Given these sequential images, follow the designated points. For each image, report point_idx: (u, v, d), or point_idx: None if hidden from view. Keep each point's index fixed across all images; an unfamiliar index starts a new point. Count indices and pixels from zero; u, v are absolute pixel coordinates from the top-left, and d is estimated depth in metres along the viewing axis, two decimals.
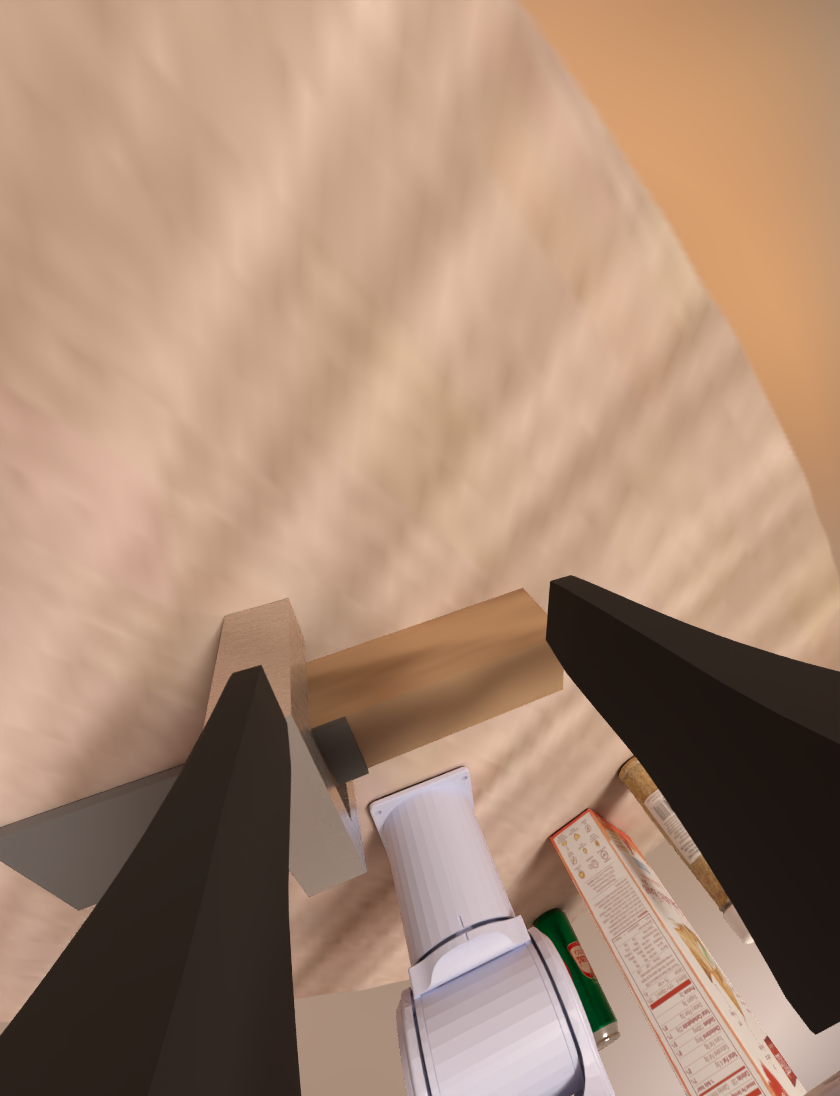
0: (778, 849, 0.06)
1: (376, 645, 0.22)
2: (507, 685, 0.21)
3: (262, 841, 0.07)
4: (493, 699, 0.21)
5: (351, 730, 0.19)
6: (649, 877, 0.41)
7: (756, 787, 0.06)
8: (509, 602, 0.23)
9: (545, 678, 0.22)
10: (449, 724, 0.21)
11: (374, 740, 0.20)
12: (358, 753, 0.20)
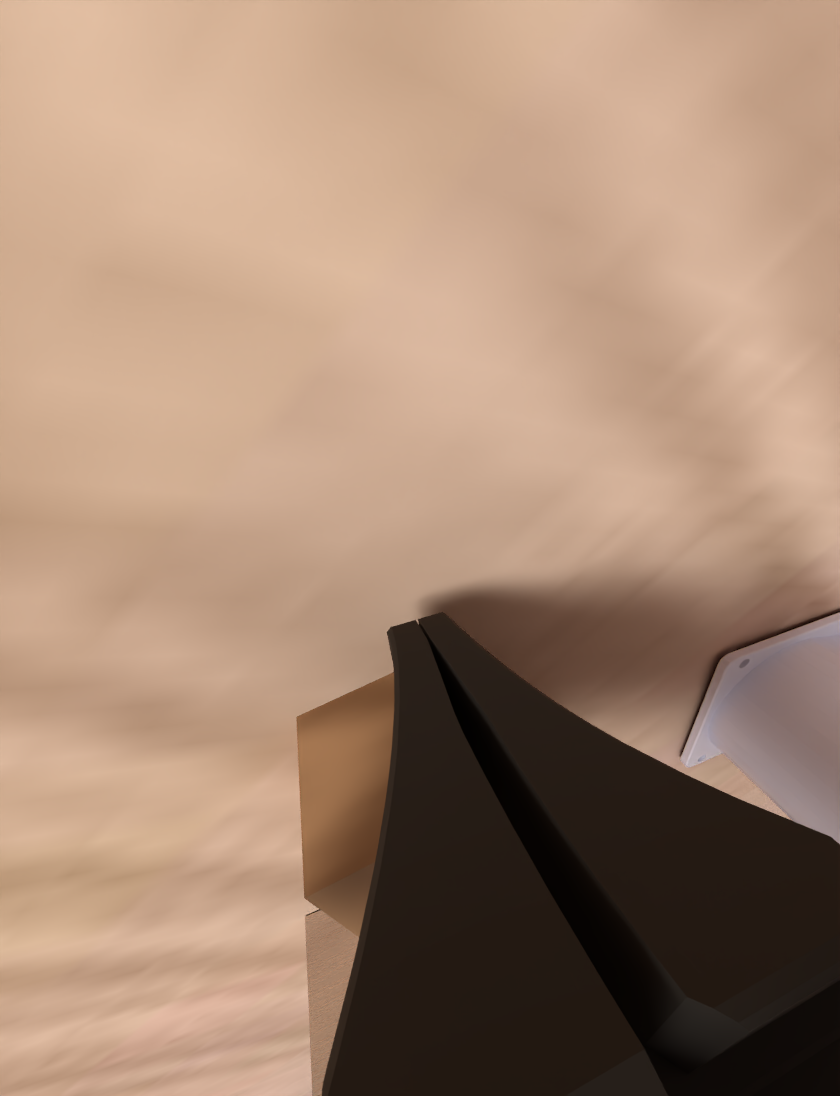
0: None
1: None
2: None
3: None
4: None
5: None
6: None
7: (550, 883, 0.05)
8: None
9: None
10: None
11: None
12: None
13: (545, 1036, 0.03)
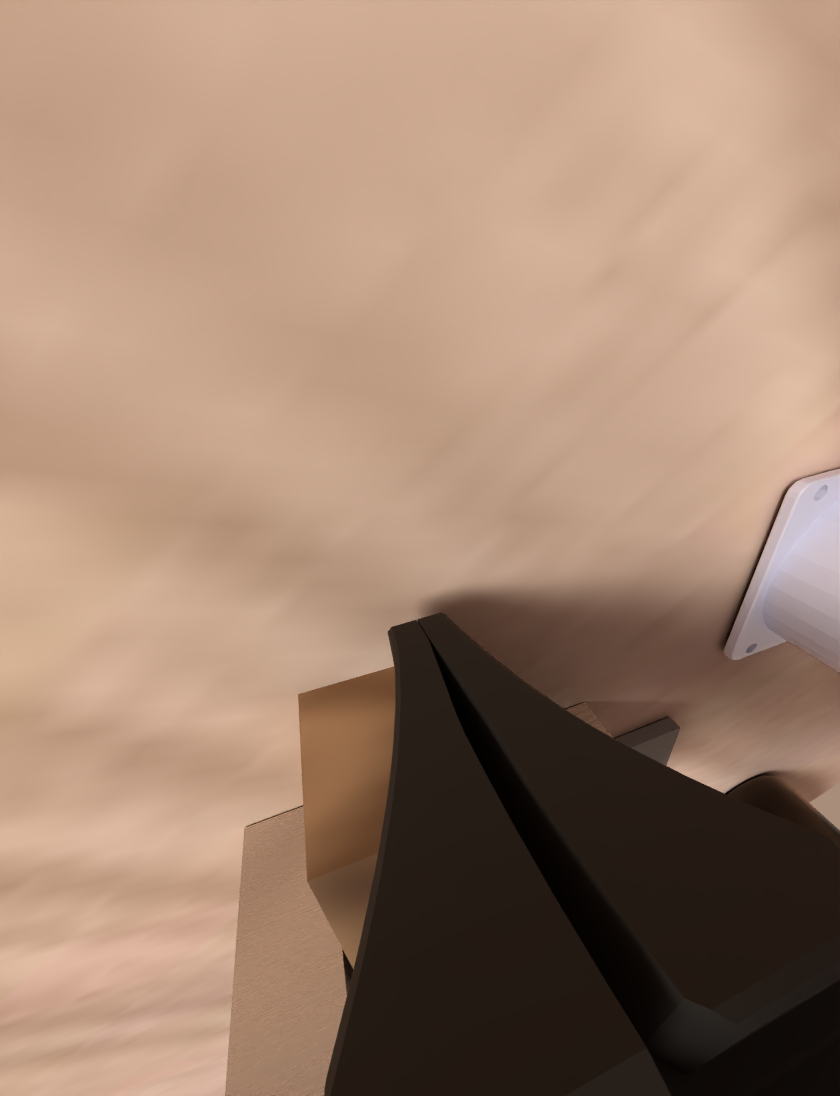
0: None
1: None
2: None
3: None
4: None
5: None
6: None
7: (548, 883, 0.05)
8: None
9: None
10: None
11: None
12: None
13: (547, 1035, 0.03)
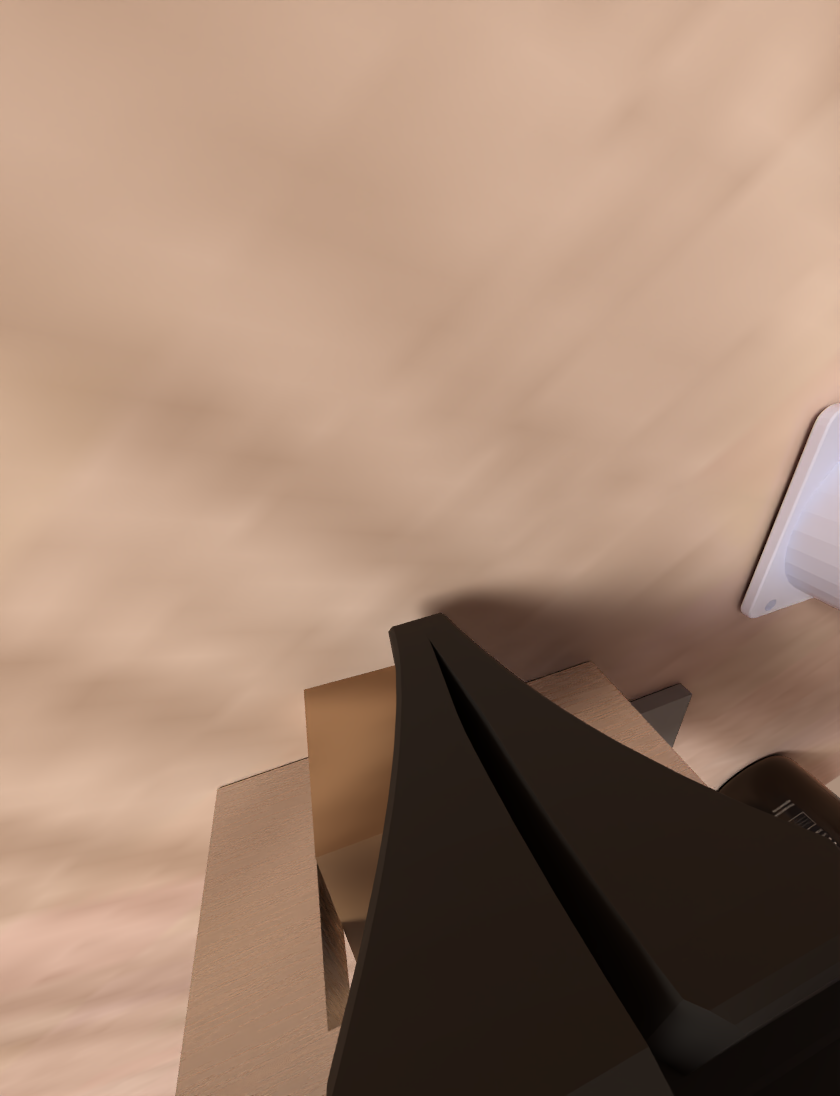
0: None
1: None
2: None
3: None
4: None
5: None
6: None
7: None
8: None
9: None
10: None
11: None
12: None
13: (549, 1034, 0.03)
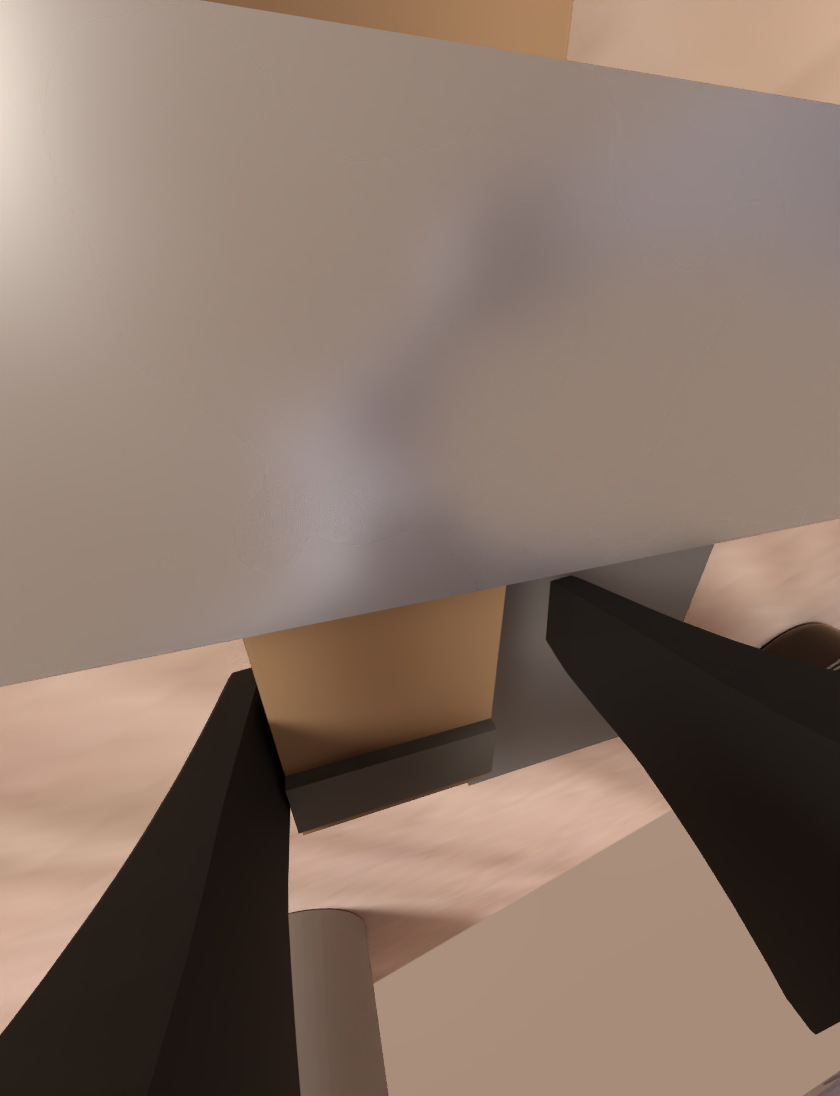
0: (778, 849, 0.06)
1: None
2: None
3: (263, 840, 0.07)
4: None
5: (340, 762, 0.08)
6: None
7: (756, 787, 0.06)
8: None
9: None
10: None
11: (406, 714, 0.08)
12: (414, 754, 0.08)
13: None
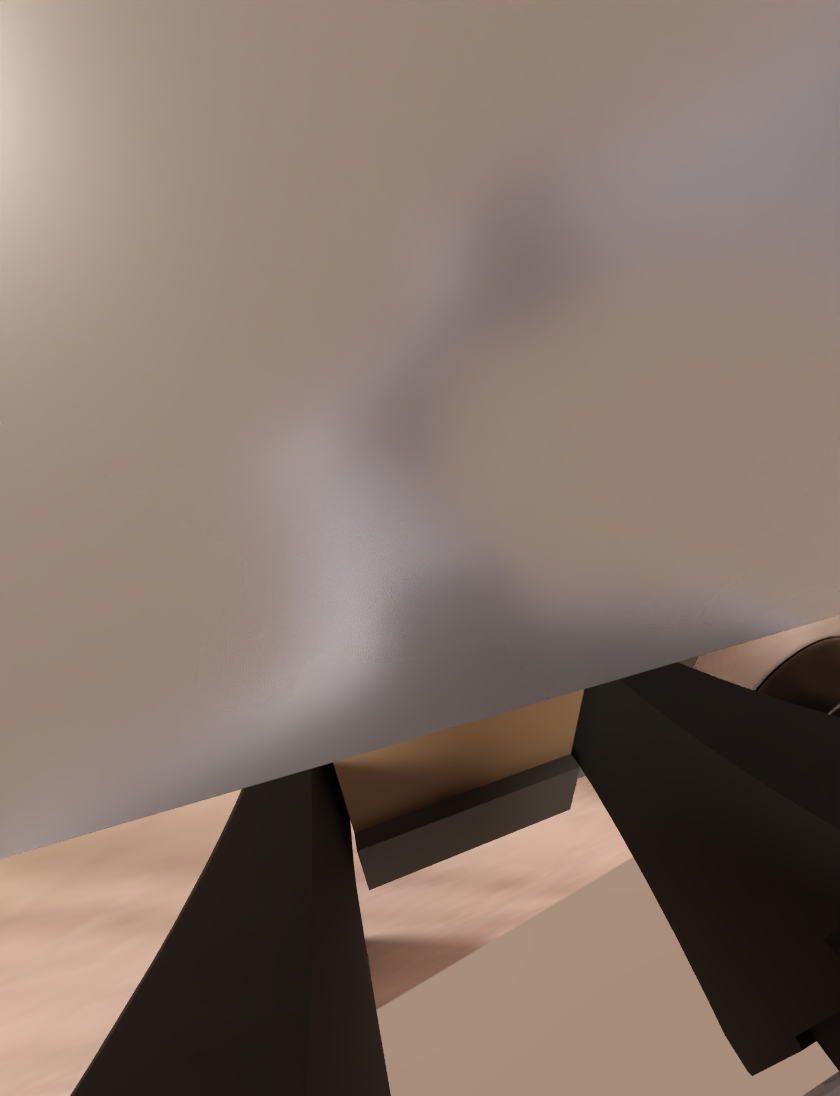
0: (711, 883, 0.06)
1: None
2: None
3: (335, 814, 0.07)
4: None
5: (412, 813, 0.07)
6: None
7: (690, 818, 0.06)
8: None
9: None
10: None
11: (484, 759, 0.07)
12: (493, 801, 0.08)
13: None
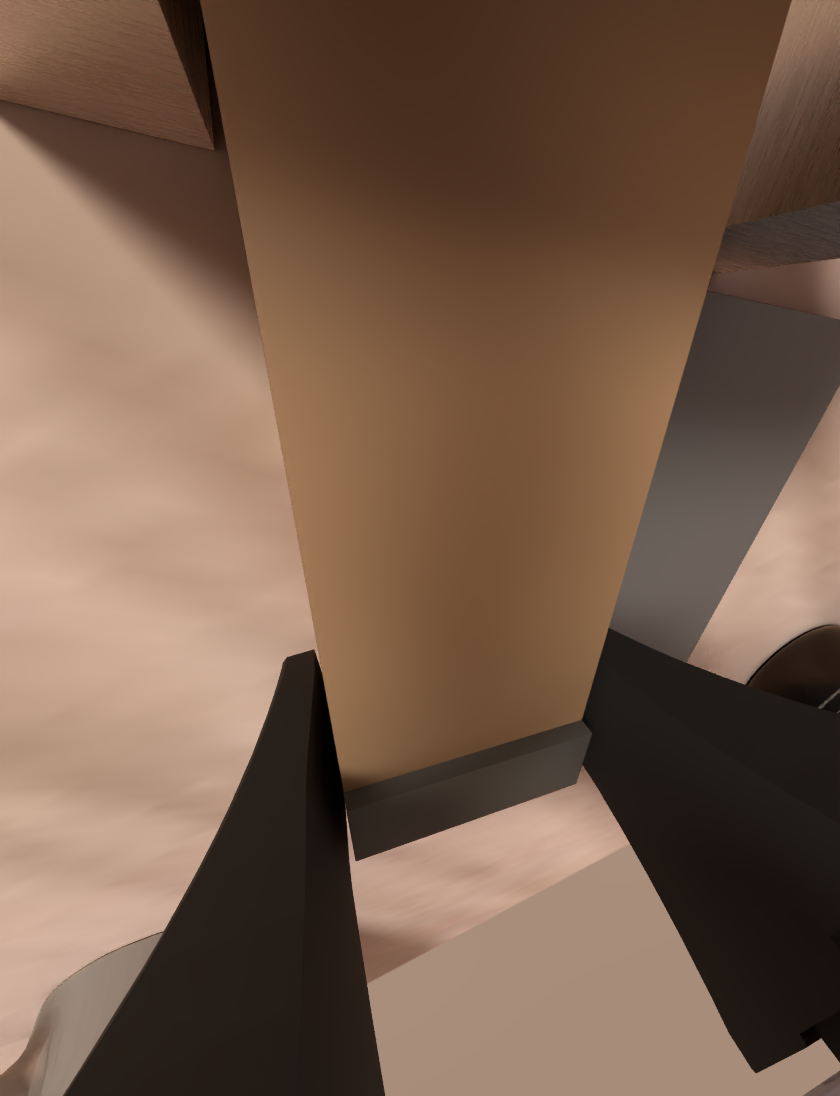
0: (715, 881, 0.06)
1: None
2: (542, 48, 0.03)
3: (331, 815, 0.07)
4: (597, 211, 0.03)
5: (409, 774, 0.07)
6: None
7: (694, 816, 0.06)
8: None
9: None
10: (596, 483, 0.05)
11: (491, 716, 0.07)
12: (498, 765, 0.07)
13: None
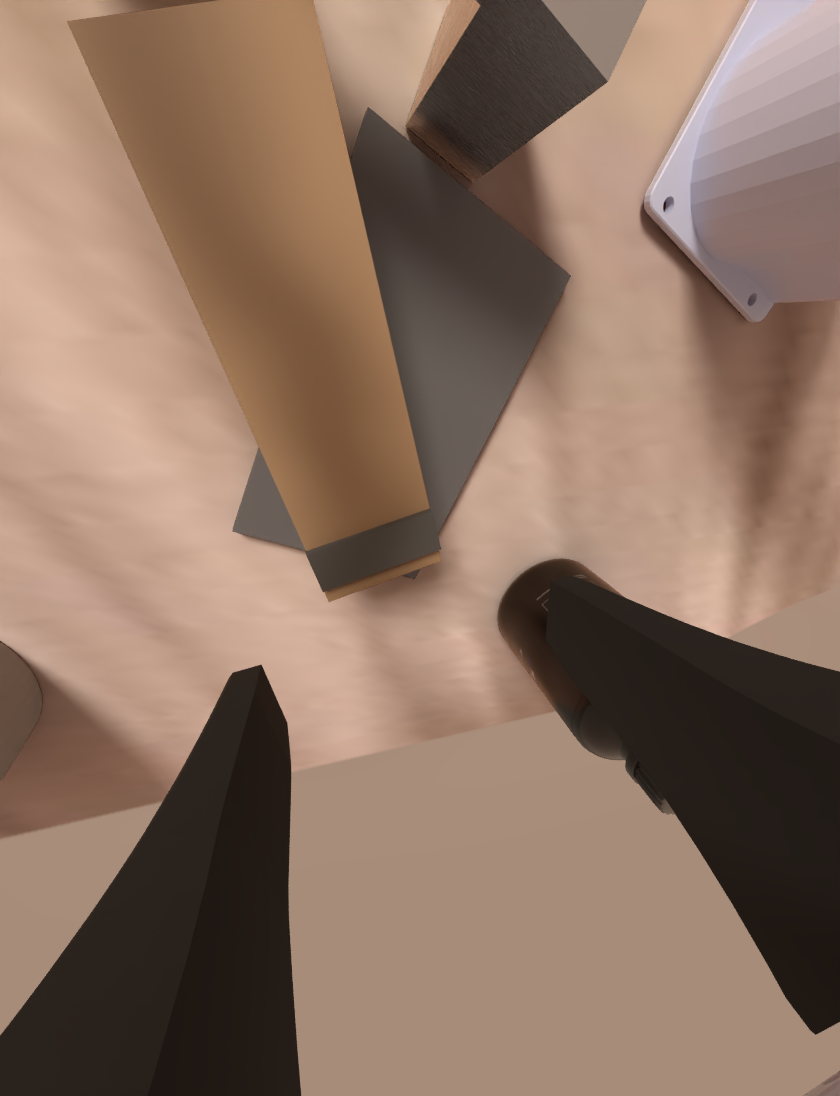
0: (778, 849, 0.06)
1: None
2: (270, 228, 0.09)
3: (263, 840, 0.07)
4: (313, 267, 0.10)
5: (336, 540, 0.13)
6: None
7: (756, 787, 0.06)
8: None
9: (254, 84, 0.08)
10: (368, 371, 0.11)
11: (370, 504, 0.13)
12: (381, 531, 0.14)
13: None
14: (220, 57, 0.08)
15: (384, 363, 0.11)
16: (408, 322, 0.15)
